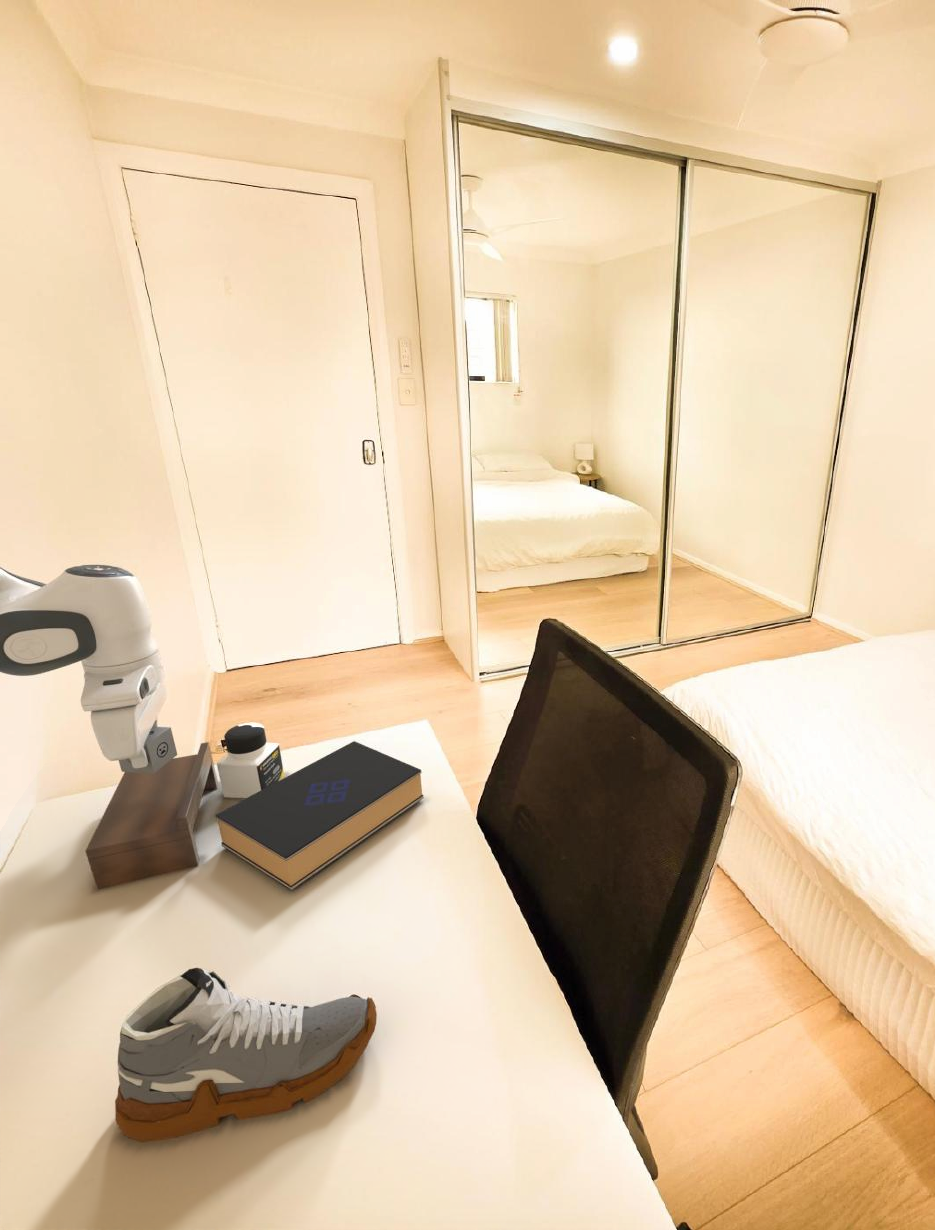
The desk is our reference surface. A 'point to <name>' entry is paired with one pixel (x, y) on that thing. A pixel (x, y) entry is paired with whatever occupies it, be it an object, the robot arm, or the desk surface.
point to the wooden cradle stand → (152, 822)
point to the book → (319, 812)
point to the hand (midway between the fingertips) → (147, 753)
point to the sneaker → (228, 1055)
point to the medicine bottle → (249, 761)
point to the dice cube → (154, 751)
